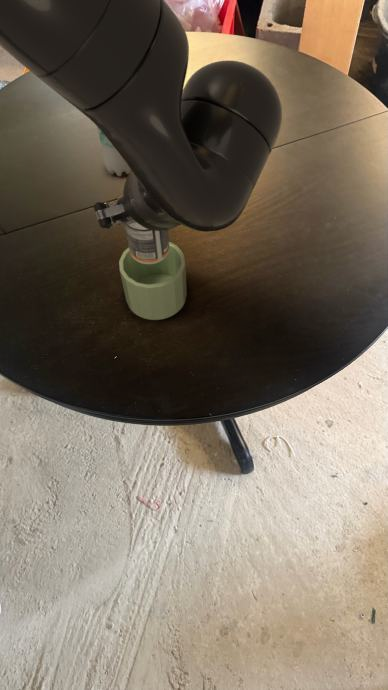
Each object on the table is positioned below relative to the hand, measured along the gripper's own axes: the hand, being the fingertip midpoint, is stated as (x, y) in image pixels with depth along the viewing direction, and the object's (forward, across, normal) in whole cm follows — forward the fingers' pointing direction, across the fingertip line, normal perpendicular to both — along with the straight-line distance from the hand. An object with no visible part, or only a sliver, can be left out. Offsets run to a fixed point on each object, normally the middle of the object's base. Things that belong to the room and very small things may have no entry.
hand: (140, 209), depth 64 cm
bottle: (+36, -5, -11) cm, 38 cm away
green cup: (+12, 0, +13) cm, 17 cm away
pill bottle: (+3, 0, +6) cm, 7 cm away
